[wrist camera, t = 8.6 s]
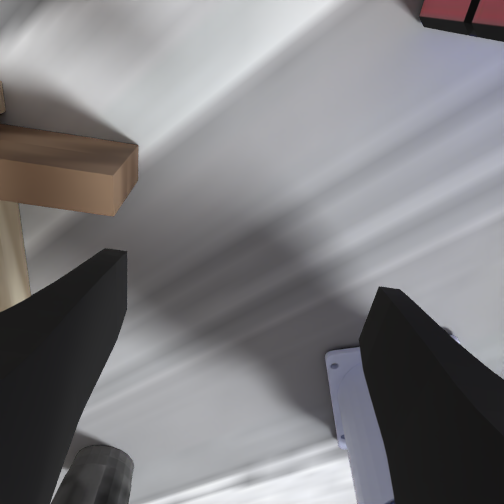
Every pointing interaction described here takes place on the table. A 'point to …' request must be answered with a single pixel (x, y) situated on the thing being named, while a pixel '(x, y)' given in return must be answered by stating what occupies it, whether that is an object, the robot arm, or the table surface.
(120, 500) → the beverage cup
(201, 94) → the table surface
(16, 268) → the beige wooden plank
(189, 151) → the table surface
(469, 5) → the puzzle cube
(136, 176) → the notched walnut block
